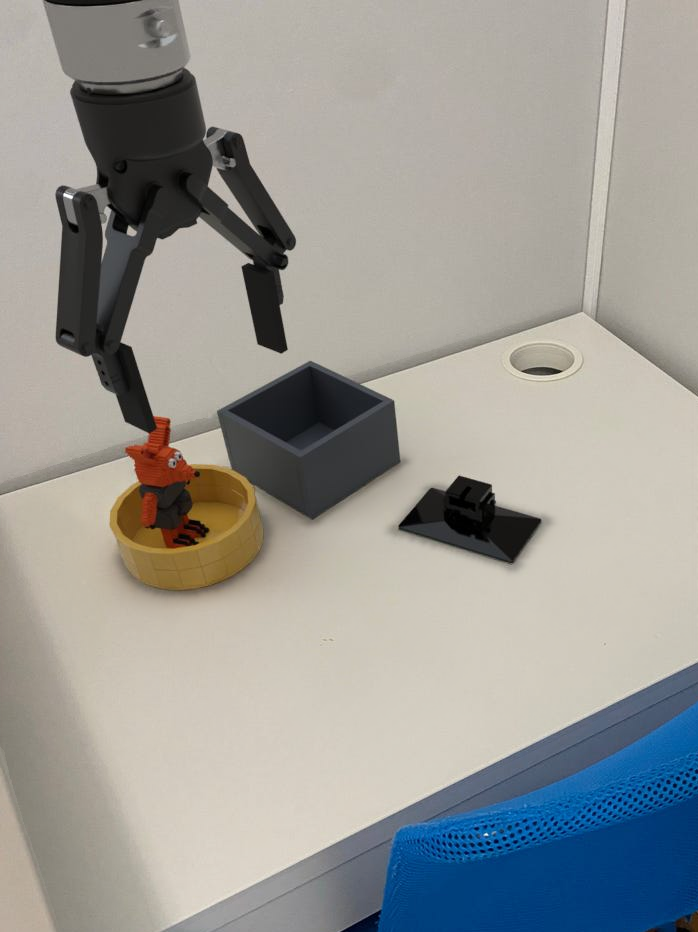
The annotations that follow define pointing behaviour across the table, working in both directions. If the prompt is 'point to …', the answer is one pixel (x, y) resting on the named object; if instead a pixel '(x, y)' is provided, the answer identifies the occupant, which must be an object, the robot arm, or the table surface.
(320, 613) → the table surface
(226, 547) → the bowl
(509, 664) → the table surface
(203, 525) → the toy animal
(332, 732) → the table surface
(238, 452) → the bin
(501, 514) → the build plate
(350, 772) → the table surface
